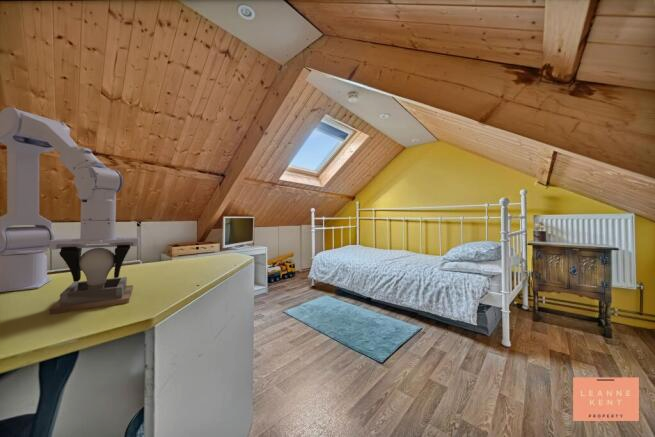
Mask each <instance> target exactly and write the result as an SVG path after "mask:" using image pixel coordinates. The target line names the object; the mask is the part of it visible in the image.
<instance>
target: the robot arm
mask: <svg viewBox="0 0 655 437" xmlns="http://www.w3.org/2000/svg"><path fill="white" fill-rule="evenodd" d="M70 132H71V130H70V127H69V126H68V125H67V124H66V123H64V122H63V121H60V120H55V119H51V118H47V117H45V116H41V115H37V114H35V113H30V112H27V111H23V110H21V109H17V108H16V107H13V106H7V107H6V108H5V107H4V108H3V109H2V110H1V111H0V143H1V145H2V144H3V145H4V146H6V159H7V160H6V167H7V170H6V171H7V174H6V176H7V178H6V179H7V183H6V184H7V186H6V187H7V189H6V190H7V192H6V193H7V196H6V200H7V202H6V203H7V204H6V207H7V209H6V210H7V211H6V213H5V214H4V215H1V216H0V293H3V292H5V293H6V292H12V291H13V292H14V291H23V290H33V289H39V288H41V287H43V286H44V285H45V284H46V283H48V282H50V281H51V280H53V277H48V256H47V255H46V253H45V252H48V251H49V250H50V251H51V250H54V251H55V250H59V249H60V251H59V252H58V254H59V256H60V257H61V258H62V259H63V260H64V262H65V263H66V266H67V267H68V269H69V271H70V273H71V276H72V280H73V282H80V281H81V279H82V278H81V276H82V275H81V274H82V272H81V271H82V270H81V268H80V267H79V259H80V257H81V256H82V251H83V250H82V249H94V248H112V247H113V248H114V254H115V265H114V272H113V278H120V273H121V269H122V265H123V263H124V260H125V258H126V256H127V255H128V253H129V251H130V249H131V247H139V246H140V238H139V237H116V220H117V219H116V218H117V217H116V216H117V214H116V213H117V194H118V193H120V191H121V190H122V189H123V187H124V178H123V175H122V173H120V171H119V170H117V169H113V168H110V167H107V166H106V165H105V164H104V163H103V162H102V160H101V161H100V159H98V158H97V156H96V155H94V154H93V151H92V150H91V149H90V148H88V147H83V146H78V144H77V143H76V141H75V140H73V138H72V137H71V136H70ZM54 150H56V151H57V153H59V158H58V159H59V160H60V162H61V163H62V164H63V166H64V167H66V169H67V170H68V171H69V172H70V173H71V174H72V175H73V176H74V177H73V183H74V187H75V188H76V191H77V197H78V199H80V234H79V237H80V238H64V239H63V238H62V239H61V238H58V239H56V234H55V232H54V229H53V222H52V221H51V220H49V219H47V218H45V217H43V216H42V215H40V155H41V154H43V153H50V152H53V151H54ZM13 226H14V227H13Z"/></svg>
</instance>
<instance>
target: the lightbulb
mask: <svg viewBox="0 0 655 437" xmlns="http://www.w3.org/2000/svg"><path fill="white" fill-rule="evenodd" d="M79 267H80V269H81V271H82V272H83V274H84V276H85V277H86V281H87V285H88V290H92V289H101V288H104V284H105V283H106V279H108V276H109V273H110V272H111V270H112V269H113V268H114V267H115V252H113V251H112V250H111V249H109V248H107V247H94V248H90V249H89V250H87V251H85V252H84V253H82V254H81V257H80V259H79Z"/></svg>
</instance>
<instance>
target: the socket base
mask: <svg viewBox="0 0 655 437" xmlns="http://www.w3.org/2000/svg"><path fill="white" fill-rule="evenodd" d="M127 281H128V280H127V276H124V277H123V276H122V277H118V278H114V277H113V278H107V279H106V283H105V284H104V288H101V289H92V290H88V285H87V280H84V281H83V280H82V281H81V280H80V281H78V282H74V281H73V282H72V283H71V284H70V285H69V286H67V288H65V289H64V290H63V291H61V293H60V294H59V299H58V300H57V301H56V302H55V303H54V304H53V305H52V306H51V307H50V308H49V309H48V315H53V314H60V313H68V312H72V311H73V312H74V311H81V310H87V309H93V308H102V307H107V306H115V305H122V304H129V302H130V300H131V297H132V293H133V290H134V285H132V284H130V285H129V284H127Z"/></svg>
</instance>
